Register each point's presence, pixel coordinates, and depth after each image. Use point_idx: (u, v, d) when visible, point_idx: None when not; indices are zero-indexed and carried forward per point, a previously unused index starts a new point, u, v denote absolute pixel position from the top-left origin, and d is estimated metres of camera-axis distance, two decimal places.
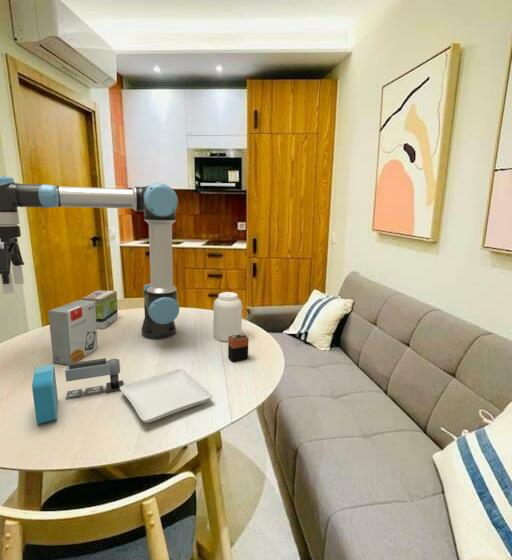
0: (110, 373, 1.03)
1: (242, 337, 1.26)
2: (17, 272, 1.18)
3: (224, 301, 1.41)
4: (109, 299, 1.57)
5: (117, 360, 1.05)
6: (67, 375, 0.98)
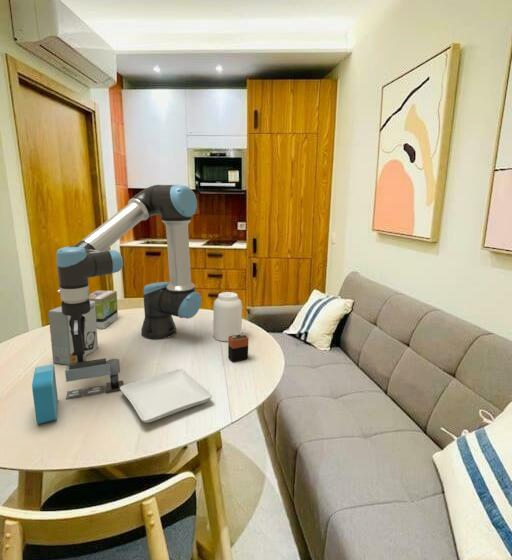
0: (110, 373, 1.03)
1: (242, 337, 1.26)
2: None
3: (224, 301, 1.41)
4: (109, 299, 1.57)
5: (117, 360, 1.05)
6: (67, 375, 0.98)
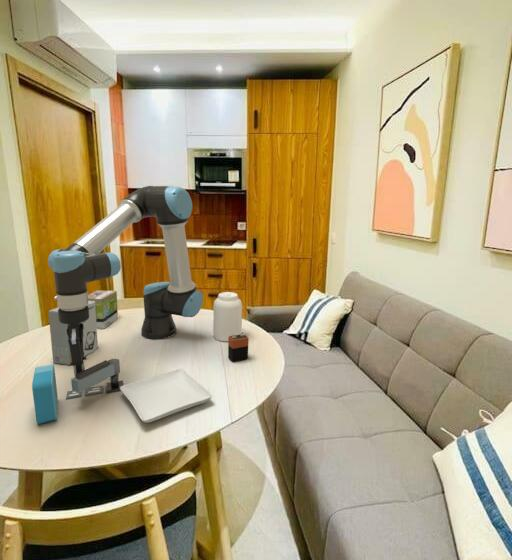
0: (114, 373, 1.03)
1: (242, 337, 1.26)
2: None
3: (224, 301, 1.41)
4: (109, 299, 1.57)
5: (116, 359, 1.05)
6: (80, 386, 0.93)
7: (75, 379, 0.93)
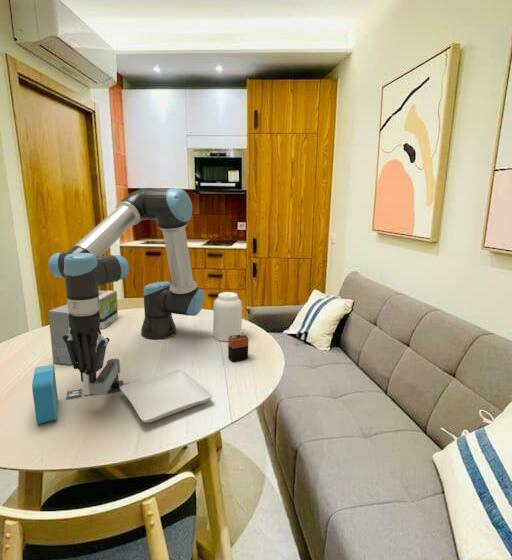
0: (118, 372, 1.04)
1: (242, 337, 1.26)
2: None
3: (224, 301, 1.41)
4: (109, 299, 1.57)
5: (114, 359, 1.05)
6: (105, 387, 0.93)
7: (98, 382, 0.92)
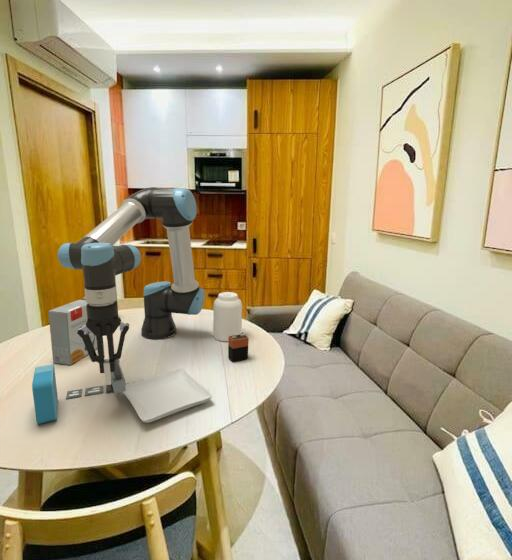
0: None
1: (242, 337, 1.26)
2: None
3: (224, 301, 1.41)
4: None
5: None
6: None
7: (118, 380, 0.94)
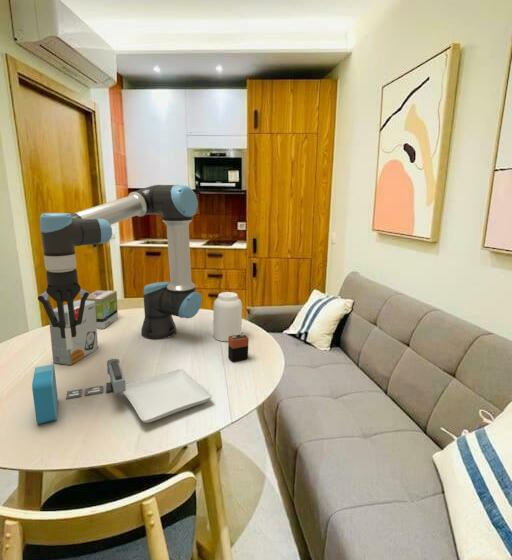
0: None
1: (242, 337, 1.26)
2: None
3: (224, 301, 1.41)
4: (109, 299, 1.57)
5: (112, 359, 1.05)
6: None
7: (118, 380, 0.94)
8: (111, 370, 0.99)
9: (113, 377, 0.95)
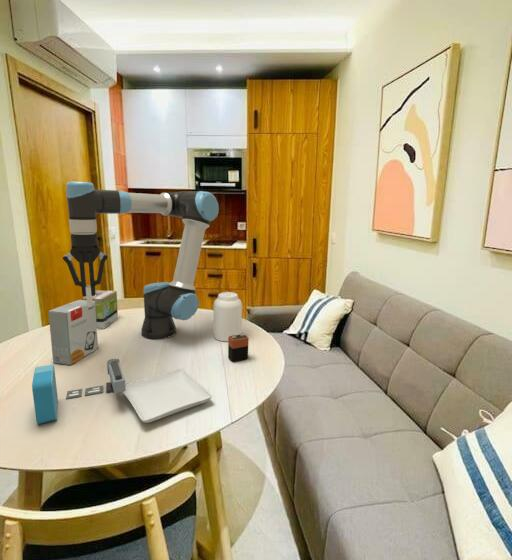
0: None
1: (242, 337, 1.26)
2: None
3: (224, 301, 1.41)
4: (109, 299, 1.57)
5: (112, 359, 1.05)
6: None
7: (118, 380, 0.94)
8: (111, 370, 0.99)
9: (113, 377, 0.95)
